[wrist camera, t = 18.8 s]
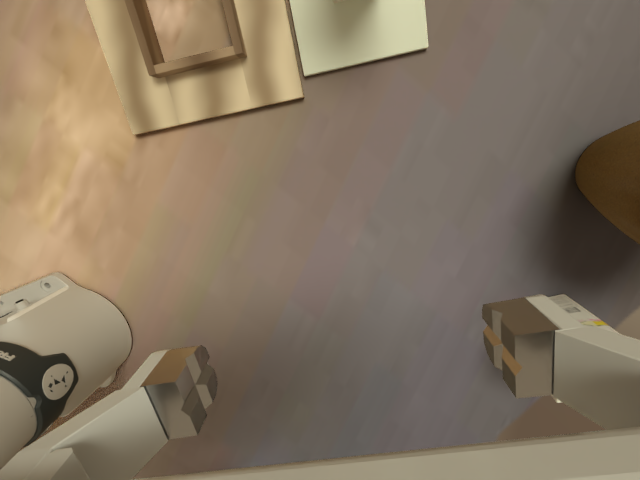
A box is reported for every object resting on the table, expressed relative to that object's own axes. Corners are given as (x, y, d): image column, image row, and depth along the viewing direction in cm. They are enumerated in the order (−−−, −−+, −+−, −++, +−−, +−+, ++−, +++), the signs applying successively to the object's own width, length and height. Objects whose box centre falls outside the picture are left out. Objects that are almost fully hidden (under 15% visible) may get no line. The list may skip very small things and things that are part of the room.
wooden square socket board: (138, 134, 38) (123, 135, 36) (64, -74, 32) (39, -93, 30) (304, 97, 36) (301, 94, 34) (258, -134, 30) (250, -160, 28)
